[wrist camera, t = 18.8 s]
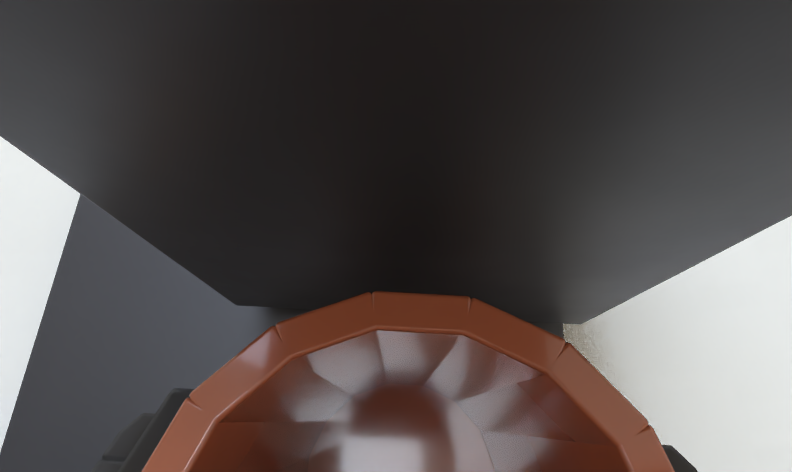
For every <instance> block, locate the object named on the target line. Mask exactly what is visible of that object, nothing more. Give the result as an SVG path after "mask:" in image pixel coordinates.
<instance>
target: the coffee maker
mask: <svg viewBox="0 0 792 472" xmlns="http://www.w3.org/2000/svg"><path fill="white" fill-rule="evenodd" d="M0 136H1V137H2V138H4V139H5V140H7V141H8V142H9V143H11V144H12V145H14V146H15V147H16V148H18V149H19V150H20V151H22V152H23V153H25V154H26V155H27V156H29V157H30V158H32V159H33V160H34V161H36V162H37V163H39V164H40V165H41V166H43V167H44V168H46V169H47V170H48V171H50V172H51V173H52V174H54V175H55V176H57V177H58V178H59V179H61V180H62V181H64V182H65V183H66V184H68V185H69V186H71V187H72V188H73V189H75V190H76V191H78V192H79V193H80V194H82V195H83V196H85V197H86V198H87V199H89V200H90V201H91V202H93V203H94V204H96V205H97V206H98V207H100V208H101V209H103V210H104V211H105V212H107V213H108V214H110V215H111V216H112V217H114V218H115V219H117V220H118V221H119V222H121V223H122V224H123V225H125V226H126V227H128V228H129V229H130V230H132V231H133V232H135V233H136V234H137V235H139V236H140V237H142V238H143V239H144V240H146V241H147V242H149V243H150V244H151V245H153V246H154V247H156V248H157V249H158V250H160V251H161V252H162V253H164V254H165V255H167V256H168V257H169V258H171V259H172V260H174V261H175V262H176V263H178V264H179V265H181V266H182V267H183V268H185V269H186V270H188V271H189V272H190V273H192V274H193V275H194V276H196V277H197V278H199V279H200V280H201V281H203V282H204V283H206V284H207V285H208V286H210V287H211V288H213V289H214V290H215V291H217V292H218V293H220V294H221V295H222V296H224V297H225V298H227V299H228V300H229V301H231V302H232V303H233V304H235V305H237V306H255V307H273V308H291V309H309V310H315V309H318V308H321V307H324V306H327V305H330V304H333V303H336V302H339V301H342V300H345V299H348V298H351V297H354V296H357V295H360V294H362V293H365V292H371V293H372V292H374V291H390V292H408V293H426V294H444V295H462V296H468V297H470V298H471V299H472V298H477V299H479V300H481V301H483V302H486V303H488V304H490V305H492V306H494V307H496V308H499V309H501V310H503V311H505V312H507V313H509V314H512V315H514V316H516V317H518V318H520V319H522V320H525V321H528V322H547V323H565V324H582V323H584V322H586V321H588V320H590V319H592V318H594V317H596V316H598V315H600V314H602V313H603V312H605V311H607V310H609V309H611V308H613V307H615V306H617V305H619V304H621V303H623V302H625V301H627V300H629V299H631V298H633V297H634V296H636V295H638V294H640V293H642V292H644V291H646V290H648V289H650V288H652V287H654V286H656V285H658V284H660V283H662V282H664V281H665V280H667V279H669V278H671V277H673V276H675V275H677V274H679V273H681V272H683V271H685V270H687V269H689V268H691V267H693V266H695V265H696V264H698V263H700V262H702V261H704V260H706V259H708V258H710V257H712V256H714V255H716V254H718V253H720V252H722V251H724V250H726V249H727V248H729V247H731V246H733V245H735V244H737V243H739V242H741V241H743V240H745V239H747V238H749V237H751V236H753V235H755V234H757V233H758V232H760V231H762V230H764V229H766V228H768V227H770V226H772V225H774V224H776V223H778V222H780V221H782V220H784V219H786V218H788V217H789V216H791V215H792V0H0Z"/></svg>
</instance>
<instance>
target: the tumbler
mask: <svg viewBox="0 0 792 472" xmlns="http://www.w3.org/2000/svg"><path fill="white" fill-rule="evenodd" d="M189 396H190V397H188V398H186V399H185V400H184V402H183V403H182V405H181V407H180V408H179V410H178V412H177V413H176V415H175V417H174V418H173V420H172V422H171V423H170V425H169V427H168V428H167V430H166V432H165V433H164V435H163V437H162V438H161V440H160V442H159V443H158V445H157V447H156V448H155V450H154V452H153V453H152V455H151V457H150V458H149V460H148V462H147V463H146V465H145V467H144V468H143V470H142V472H675V471H674V469H673V467H672V465H671V463H670V461H669V459H668V457H667V455H666V453H665V451H664V449H663V447H662V445H661V443H660V441H659V439H658V437H657V435H656V433H655V431H654V429H653V428H652V427H651V426H650V425H648V421H647V419H646V418H645V417H644V416H643V415H642V414H641V413H640V412H639V411H638V410H637V409H636V408H635V407H634V406H633V405H632V404H631V403H630V402H629V401H628V400H627V399H626V398H625V397H624V396H623V395H622V394H621V393H620V392H619V391H618V390H617V389H616V388H615V387H614V386H613V385H612V384H611V383H610V382H609V381H608V380H607V379H606V378H605V377H604V376H603V375H602V374H601V373H600V372H599V371H598V370H597V369H596V368H595V367H594V366H593V365H592V364H591V363H590V362H589V361H588V360H587V359H586V358H585V357H584V356H583V355H582V354H581V353H580V352H579V351H578V350H577V349H576V348H575V347H574V346H573V345H572V344H570V343H568V342H566V343H565V340H564V339H563V338H562V337H559V336H557V335H555V334H553V333H551V332H549V331H546V330H544V329H542V328H540V327H538V326H535V325H533V324H531V323H529V322H527V321H525V320H522V319H520V318H518V317H516V316H514V315H512V314H509V313H507V312H505V311H503V310H501V309H499V308H496V307H494V306H492V305H490V304H488V303H486V302H483V301H481V300H479V299H477V298H472V299H471V298H470V297H468V296H462V295H444V294H426V293H408V292H390V291H374V292H372V293H371V292H365V293H362V294H360V295H357V296H354V297H351V298H348V299H345V300H342V301H339V302H336V303H333V304H330V305H327V306H324V307H321V308H318V309H315V310H312V311H309V312H306V313H303V314H300V315H298V316H295V317H292V318H289V319H286V320H283V321H280V322H278V323H277V324H276V326H271V327H269V328H268V329H267V330H266V331H264V332H263V333H262V334H261V335H259V336H258V337H257V338H256V339H255V340H253V341H252V342H251V343H250V344H249V345H247V346H246V347H245V348H244V349H243V350H241V351H240V352H239V353H238V354H236V355H235V356H234V357H233V358H232V359H230V360H229V361H228V362H227V363H226V364H224V365H223V366H222V367H221V368H220V369H218V370H217V371H216V372H215V373H214V374H212V375H211V376H210V377H209V378H207V379H206V380H205V381H204V382H203V383H201V384H200V385H199V386H198V387H197V388H195V389H194V390H193V391H192V392H191V393H190V395H189Z"/></svg>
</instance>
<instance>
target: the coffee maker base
mask: <svg viewBox="0 0 792 472" xmlns="http://www.w3.org/2000/svg"><path fill="white" fill-rule="evenodd" d="M309 311H312V310H309V309H291V308H273V307H255V306H237V305H235V304H233V303H232V302H231V301H229V300H228V299H227V298H225V297H224V296H222V295H221V294H220V293H218V292H217V291H215V290H214V289H213V288H211V287H210V286H208V285H207V284H206V283H204V282H203V281H201V280H200V279H199V278H197V277H196V276H194V275H193V274H192V273H190V272H189V271H188V270H186V269H185V268H183V267H182V266H181V265H179V264H178V263H176V262H175V261H174V260H172V259H171V258H169V257H168V256H167V255H165V254H164V253H162V252H161V251H160V250H158V249H157V248H156V247H154V246H153V245H151V244H150V243H149V242H147V241H146V240H144V239H143V238H142V237H140V236H139V235H137V234H136V233H135V232H133V231H132V230H130V229H129V228H128V227H126V226H125V225H123V224H122V223H121V222H119V221H118V220H117V219H115V218H114V217H112V216H111V215H110V214H108V213H107V212H105V211H104V210H103V209H101V208H100V207H98V206H97V205H96V204H94V203H93V202H91V201H90V200H89V199H87V198H86V197H85V196H83V195H82V194H81V195H80V198H79V201H78V204H77V207H76V211H75V214H74V217H73V220H72V224H71V227H70V230H69V233H68V236H67V240H66V243H65V246H64V249H63V253H62V256H61V259H60V262H59V265H58V269H57V272H56V275H55V278H54V282H53V285H52V288H51V291H50V294H49V298H48V301H47V304H46V307H45V311H44V314H43V317H42V320H41V323H40V327H39V330H38V333H37V336H36V340H35V343H34V346H33V349H32V352H31V356H30V359H29V362H28V365H27V369H26V372H25V375H24V378H23V381H22V385H21V388H20V391H19V394H18V398H17V401H16V404H15V407H14V410H13V414H12V417H11V420H10V423H9V427H8V430H7V433H6V436H5V439H4V443H3V446H2V449H1V452H0V472H91V471H92V469H93V468H94V466H95V465H96V464H97V462H98V461H99V460H100V461H101V459H102V455H103V454H104V452H105V451H106V449H107V448H108V447H109V445H110V444H111V442H112V441H113V440H114V438H115V437H116V435H117V434H118V433H119V432H120V431H121V430H122V429H123V428H125V427H126V426H127V425H128V424H130V423H131V422H132V421H133V420H135V419H136V418H137V417H138V416H140V415H141V414H142V413H154V414H156V412H157V410H158V409H159V407H160V406H161V404H162V403H163V401H164V400H165V398H166V397H167V395H168V394H169V392H170V391H171V390H173V389H174V388H185V389H195V388H197V387H198V386H199V385H200V384H201V383H203V382H204V381H205V380H206V379H207V378H209V377H210V376H211V375H212V374H214V373H215V372H216V371H217V370H218V369H220V368H221V367H222V366H223V365H224V364H226V363H227V362H228V361H229V360H230V359H232V358H233V357H234V356H235V355H236V354H238V353H239V352H240V351H241V350H243V349H244V348H245V347H246V346H247V345H249V344H250V343H251V342H252V341H253V340H255V339H256V338H257V337H258V336H259V335H261V334H262V333H263V332H264V331H266V330H267V329H268V328H269V327H271V326H276V324H277V323H278V322H280V321H283V320H286V319H289V318H292V317H295V316H298V315H300V314H303V313H306V312H309ZM527 322H528V321H527ZM529 323H531V324H533V325H535V326H538V327H540V328H542V329H544V330H546V331H549V332H551V333H553V334H555V335H557V336H559V337H562V338H563V323H547V322H529ZM563 339H564V338H563Z"/></svg>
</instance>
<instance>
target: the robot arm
mask: <svg viewBox="0 0 792 472" xmlns="http://www.w3.org/2000/svg"><path fill="white" fill-rule="evenodd" d="M193 390H194V389H185V388H174V389H173V390H171V391H170V392H169V394H168V395H167V397H166V398H165V400H164V401H163V403H162V404H161V406H160V407H159V409H158V410H157V412H156V414H154V413H142V414H141V415H140V416H138V417H137V418H136V419H135V420H133V421H132V422H131V423H130V424H128V425H127V426H126V427H125V428H123V429H122V430H121V431H120V432H119V433H118V434H117V435H116V437H115V438H114V440H113V441H112V442H111V444H110V445H109V447H108V448H107V449H106V451H105V452H104V454H103V455H102V459H101V461H100V460H99V461H98V462H97V464H96V465H95V466H94V468H93V469H92V471H91V472H142V470H143V468H144V467H145V465H146V463H147V462H148V460H149V458H150V457H151V455H152V453H153V452H154V450H155V448H156V447H157V445H158V443H159V442H160V440H161V438H162V437H163V435H164V433H165V432H166V430H167V428H168V427H169V425H170V423H171V422H172V420H173V418H174V417H175V415H176V413H177V412H178V410H179V408H180V407H181V405H182V403H183V402H184V400H185V399H186V398H188V397H190V396H189V395H190V393H191V392H192V391H193ZM662 447H663V449H664V451H665V453H666V455H667V457H668V459H669V461H670V463H671V465H672V467H673V469H674V471H675V472H697V470H696V468H695V467H694V466H692V465H691V464H690V463H689V462H688V461H687V460H686V459H685V458H684V457H683V456H682V455H681V454H680V453H679V452H678V451H677V450H675V449H674V448H673V447H672V446H670V445H662Z"/></svg>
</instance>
